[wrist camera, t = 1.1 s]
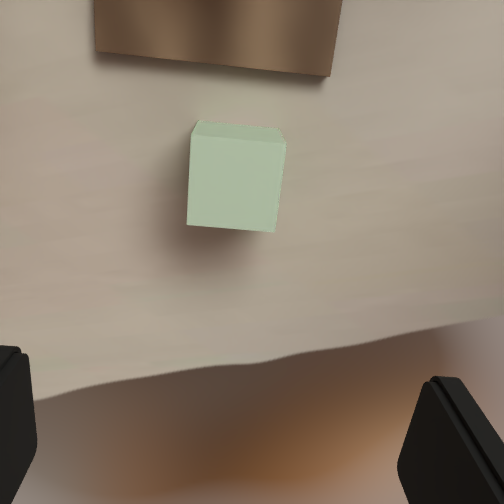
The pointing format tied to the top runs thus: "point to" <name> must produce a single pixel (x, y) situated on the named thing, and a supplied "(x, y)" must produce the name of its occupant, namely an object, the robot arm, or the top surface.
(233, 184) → the sage block
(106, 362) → the top surface
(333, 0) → the base board
